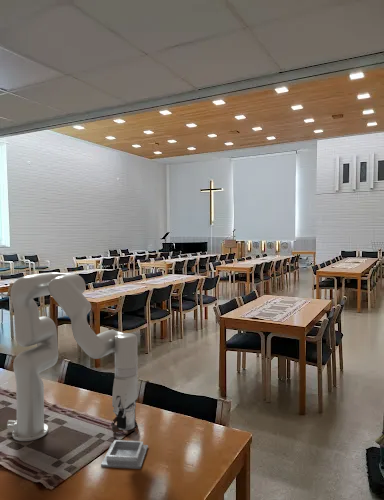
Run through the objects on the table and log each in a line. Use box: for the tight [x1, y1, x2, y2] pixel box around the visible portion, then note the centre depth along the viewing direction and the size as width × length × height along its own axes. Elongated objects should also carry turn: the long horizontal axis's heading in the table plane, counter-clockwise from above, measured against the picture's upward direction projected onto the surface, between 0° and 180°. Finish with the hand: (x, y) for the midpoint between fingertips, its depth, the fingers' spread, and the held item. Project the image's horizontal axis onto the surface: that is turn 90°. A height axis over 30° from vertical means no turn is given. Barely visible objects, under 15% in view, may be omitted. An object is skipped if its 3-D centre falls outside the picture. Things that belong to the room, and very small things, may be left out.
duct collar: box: [100, 439, 149, 470], centre depth 136 cm, size 13×13×3 cm
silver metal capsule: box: [119, 403, 136, 431], centre depth 135 cm, size 6×6×7 cm
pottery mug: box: [110, 416, 140, 435], centre depth 153 cm, size 12×10×8 cm
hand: (126, 423), depth 135 cm, fingers closed on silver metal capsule, 5 cm apart
